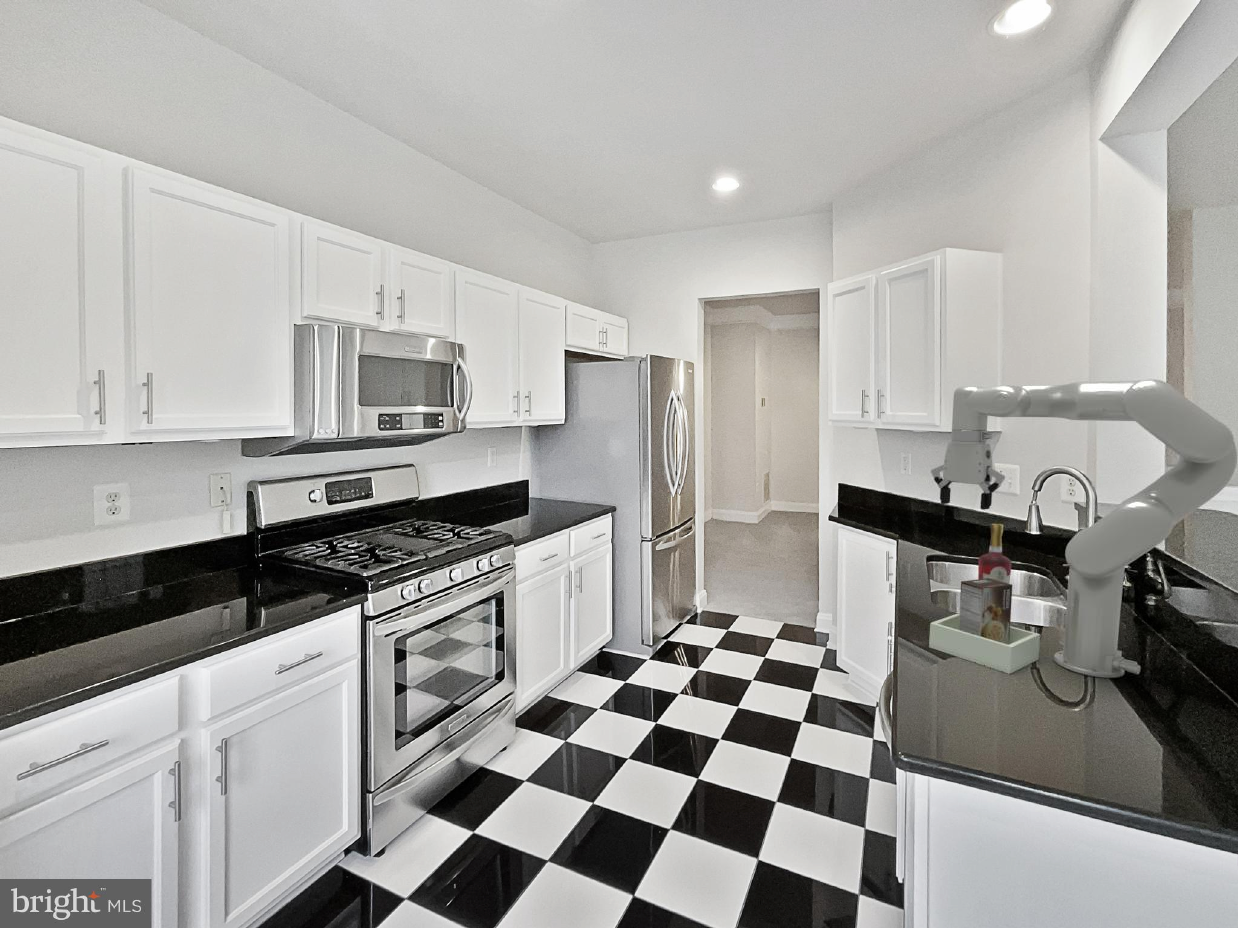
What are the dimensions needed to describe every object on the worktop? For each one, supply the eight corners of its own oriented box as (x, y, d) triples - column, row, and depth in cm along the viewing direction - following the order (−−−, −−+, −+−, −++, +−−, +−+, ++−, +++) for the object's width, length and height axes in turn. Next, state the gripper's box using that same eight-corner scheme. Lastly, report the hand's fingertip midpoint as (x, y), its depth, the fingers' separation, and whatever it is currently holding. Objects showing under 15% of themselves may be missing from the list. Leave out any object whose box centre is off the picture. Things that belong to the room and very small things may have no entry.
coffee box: (985, 641, 151) (989, 577, 149) (1009, 651, 145) (1014, 584, 143) (956, 646, 148) (960, 580, 146) (980, 656, 142) (984, 588, 140)
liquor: (1001, 627, 163) (1008, 522, 161) (1011, 637, 156) (1018, 528, 154) (970, 625, 165) (976, 521, 163) (979, 634, 158) (985, 526, 155)
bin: (1038, 659, 143) (1040, 634, 142) (1009, 673, 135) (1011, 647, 135) (959, 635, 158) (960, 612, 157) (929, 647, 150) (930, 623, 149)
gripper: (1014, 438, 147) (1009, 509, 149) (941, 435, 162) (938, 500, 163) (998, 439, 143) (994, 512, 145) (926, 436, 157) (922, 502, 159)
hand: (964, 506), depth 154 cm, fingers open, 9 cm apart
